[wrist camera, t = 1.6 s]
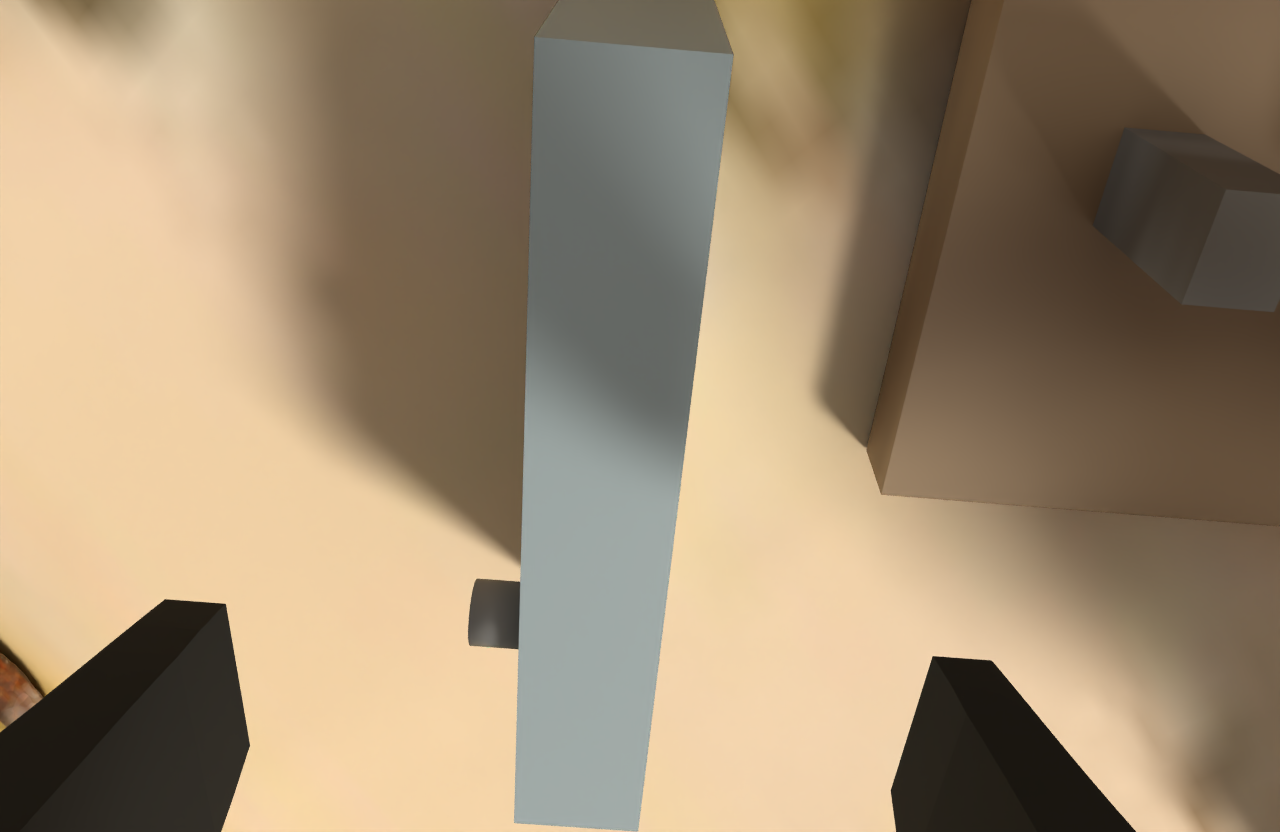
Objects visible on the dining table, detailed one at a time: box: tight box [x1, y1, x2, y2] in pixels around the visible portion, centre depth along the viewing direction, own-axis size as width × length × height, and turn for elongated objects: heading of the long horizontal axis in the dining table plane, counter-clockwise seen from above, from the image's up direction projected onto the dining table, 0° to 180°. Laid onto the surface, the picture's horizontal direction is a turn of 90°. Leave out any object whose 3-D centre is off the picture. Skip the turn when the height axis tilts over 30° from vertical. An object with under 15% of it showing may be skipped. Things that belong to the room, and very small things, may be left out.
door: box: [468, 0, 733, 831], centre depth 15 cm, size 12×3×6 cm, turn 175°
